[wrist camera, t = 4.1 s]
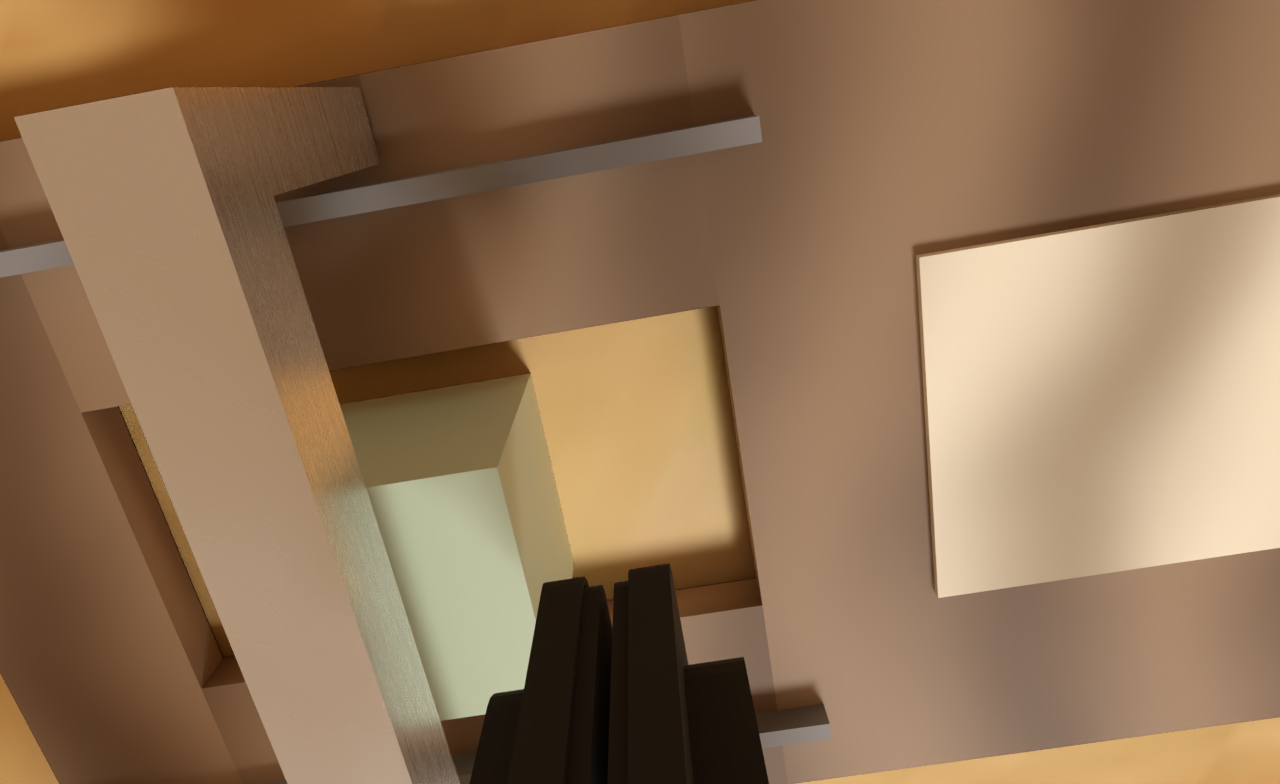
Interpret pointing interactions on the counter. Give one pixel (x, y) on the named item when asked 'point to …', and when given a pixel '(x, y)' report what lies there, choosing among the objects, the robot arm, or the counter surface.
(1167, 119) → the board
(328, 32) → the counter surface
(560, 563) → the block
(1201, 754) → the counter surface
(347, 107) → the gate
